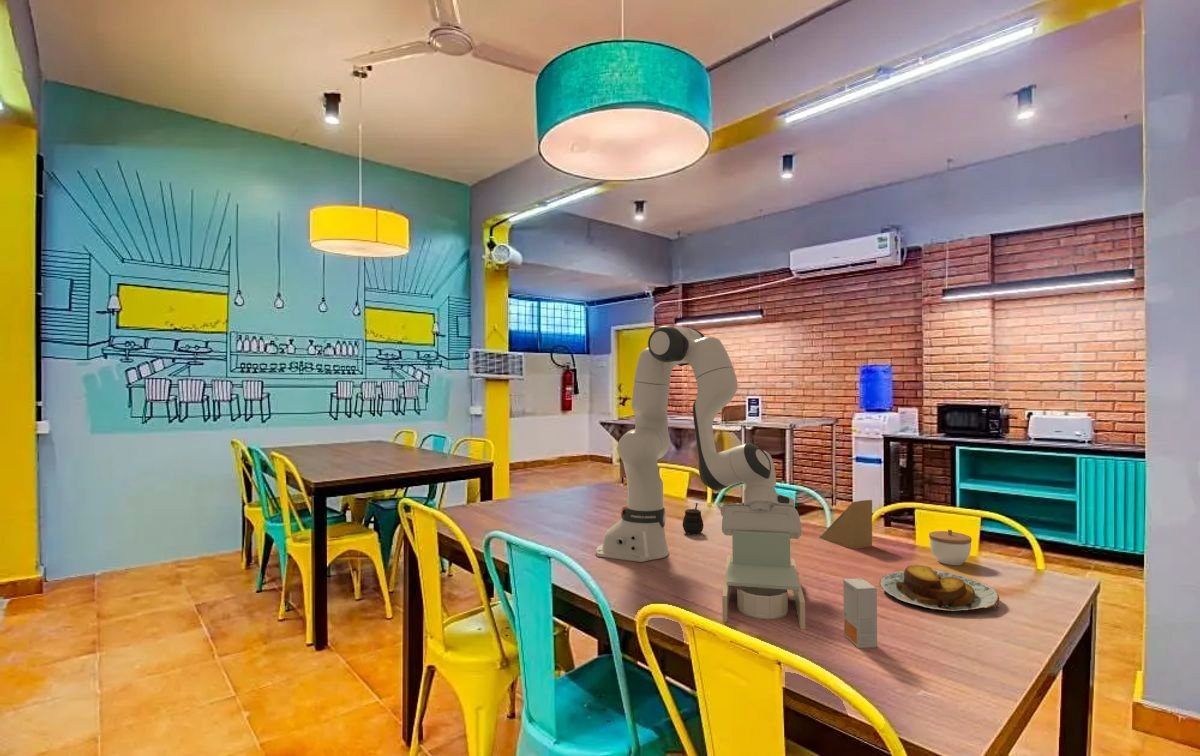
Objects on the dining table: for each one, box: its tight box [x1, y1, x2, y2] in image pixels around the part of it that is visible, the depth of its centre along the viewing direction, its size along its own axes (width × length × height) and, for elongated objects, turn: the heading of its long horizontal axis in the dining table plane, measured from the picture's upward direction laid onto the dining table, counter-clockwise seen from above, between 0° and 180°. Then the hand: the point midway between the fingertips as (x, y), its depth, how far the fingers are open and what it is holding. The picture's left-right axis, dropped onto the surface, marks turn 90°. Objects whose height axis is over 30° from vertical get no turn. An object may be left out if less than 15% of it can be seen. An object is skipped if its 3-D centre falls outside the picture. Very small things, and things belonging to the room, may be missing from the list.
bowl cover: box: [727, 530, 799, 591], centre depth 145 cm, size 16×16×9 cm
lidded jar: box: [928, 529, 973, 566], centre depth 175 cm, size 11×11×9 cm
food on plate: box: [879, 564, 1000, 618], centre depth 148 cm, size 25×25×7 cm
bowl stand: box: [721, 554, 806, 630], centre depth 146 cm, size 17×32×6 cm, turn 166°
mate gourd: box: [682, 502, 704, 536], centre depth 210 cm, size 7×8×10 cm
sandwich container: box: [818, 499, 873, 550], centre depth 198 cm, size 9×15×15 cm, turn 23°
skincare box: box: [842, 578, 878, 649], centre depth 122 cm, size 6×4×12 cm
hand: (761, 550), depth 153 cm, fingers closed, pressing on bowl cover
